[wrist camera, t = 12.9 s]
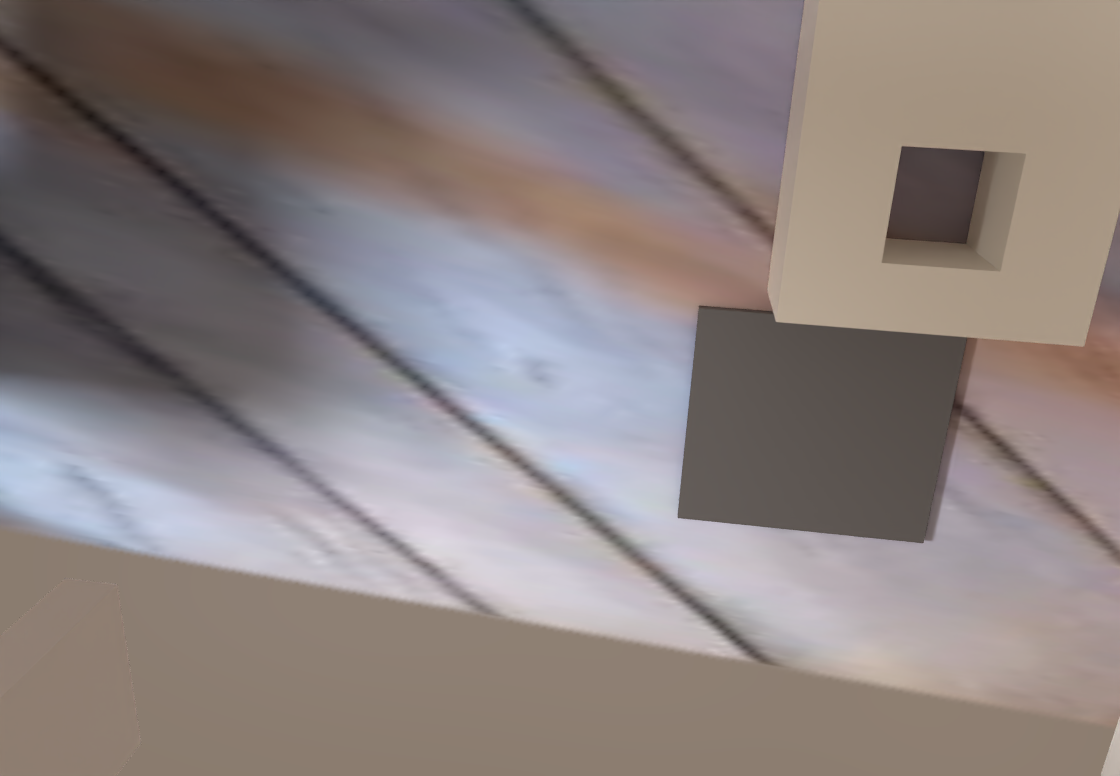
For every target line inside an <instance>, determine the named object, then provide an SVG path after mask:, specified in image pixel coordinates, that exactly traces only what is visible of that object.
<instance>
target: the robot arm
mask: <svg viewBox="0 0 1120 776" xmlns="http://www.w3.org/2000/svg"><path fill="white" fill-rule="evenodd" d="M140 744H141V737H140V732H139V724H138V718H137V711H136V704H135V697H134V691H133V685H132V678H131V672H130V664H129V658H128V651H127V645H126V637H125V631H124V624H123V618H122V611H121V604H120V598H119V591H118V585H117V584H111V583H103V582H95V581H86V580H78V579H69V578H65V579H64V580H63V581H61V582H60V583H59V584H58V585H57V586H56V587H55V588H54V589H52V590H51V591H50V592H49V593H48V594H47V595H46V596H45V597H43V598H42V599H41V600H40V601H39V602H38V603H37V604H36V605H34V606H33V607H32V608H31V609H30V610H29V611H28V612H26V613H25V614H24V615H23V616H22V617H21V618H20V619H19V620H17V621H16V622H15V623H14V624H13V625H12V626H11V627H9V628H8V629H7V630H6V631H5V632H4V633H3V634H2V635H0V776H116V775H117V774H118V773H119V771H120V770H121V769H122V768H123V766H124V765H125V764H126V762H127V761H128V760H129V758H130V757H131V756H132V755H133V753H134V752H135V751H136V749H137V748H138V747H139V745H140ZM1101 776H1120V717H1119V720H1118V723H1117V727H1116V730H1115V733H1114V736H1113V739H1112V742H1111V745H1110V748H1109V751H1108V755H1107V757H1106V761H1105V764H1104V767H1103V770H1102V773H1101Z"/></svg>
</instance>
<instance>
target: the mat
mask: <svg viewBox="0 0 1120 776" xmlns="http://www.w3.org/2000/svg"><path fill="white" fill-rule="evenodd" d="M966 341H967V337H957V336H944V335H932V334H919V333H907V332H894V331H882V330H869V329H857V328H844V327H832V326H819V325H807V324H794V323H782V322H776V320H775V317H774V313H773V312H772V311H759V310H746V309H734V308H721V307H708V306H699V311H698V321H697V331H696V341H695V351H694V360H693V370H692V380H691V390H690V400H689V409H688V419H687V429H686V439H685V449H684V459H683V468H682V478H681V488H680V498H679V508H678V518H683V519H693V520H703V521H712V522H722V523H732V524H742V525H751V526H761V527H771V528H781V529H790V530H800V531H810V532H819V533H829V534H839V535H849V536H858V537H868V538H878V539H887V540H897V541H907V542H917V543H924V538H925V533H926V528H927V524H928V519H929V514H930V510H931V505H932V500H933V496H934V491H935V486H936V482H937V477H938V472H939V467H940V463H941V458H942V453H943V449H944V444H945V439H946V435H947V430H948V425H949V421H950V416H951V411H952V406H953V402H954V397H955V392H956V388H957V383H958V378H959V374H960V369H961V364H962V359H963V355H964V350H965V345H966Z"/></svg>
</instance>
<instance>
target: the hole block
mask: <svg viewBox="0 0 1120 776" xmlns="http://www.w3.org/2000/svg"><path fill="white" fill-rule="evenodd" d="M902 146H908V147H925V148H942V149H958V150H975V151H985V154H984V158H983V163H982V168H981V173H980V178H979V183H978V188H977V193H976V198H975V202H974V207H973V212H972V217H971V222H970V227H969V232H968V237H967V242H966V244H961V243H947V242H933V241H918V240H904V239H890V238H886V234H887V229H888V223H889V217H890V211H891V205H892V200H893V194H894V188H895V182H896V176H897V171H898V165H899V159H900V153H901V147H902ZM1119 211H1120V0H804V8H803V15H802V23H801V31H800V39H799V46H798V54H797V62H796V70H795V78H794V85H793V93H792V101H791V109H790V116H789V124H788V132H787V140H786V147H785V155H784V163H783V171H782V179H781V186H780V194H779V202H778V210H777V217H776V225H775V233H774V241H773V248H772V256H771V264H770V272H769V280H768V287H767V291H768V295H769V298H770V302H771V306H772V309H773V313H774V317H775V320H776V322H782V323H794V324H807V325H819V326H832V327H844V328H857V329H869V330H882V331H894V332H907V333H919V334H932V335H944V336H957V337H969V338H982V339H994V340H1007V341H1019V342H1032V343H1044V344H1057V345H1069V346H1082V347H1084V345H1085V341H1086V337H1087V334H1088V330H1089V326H1090V322H1091V318H1092V315H1093V311H1094V307H1095V303H1096V299H1097V295H1098V292H1099V288H1100V284H1101V280H1102V276H1103V273H1104V269H1105V265H1106V261H1107V257H1108V253H1109V250H1110V246H1111V242H1112V238H1113V234H1114V230H1115V227H1116V223H1117V219H1118V215H1119Z"/></svg>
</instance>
